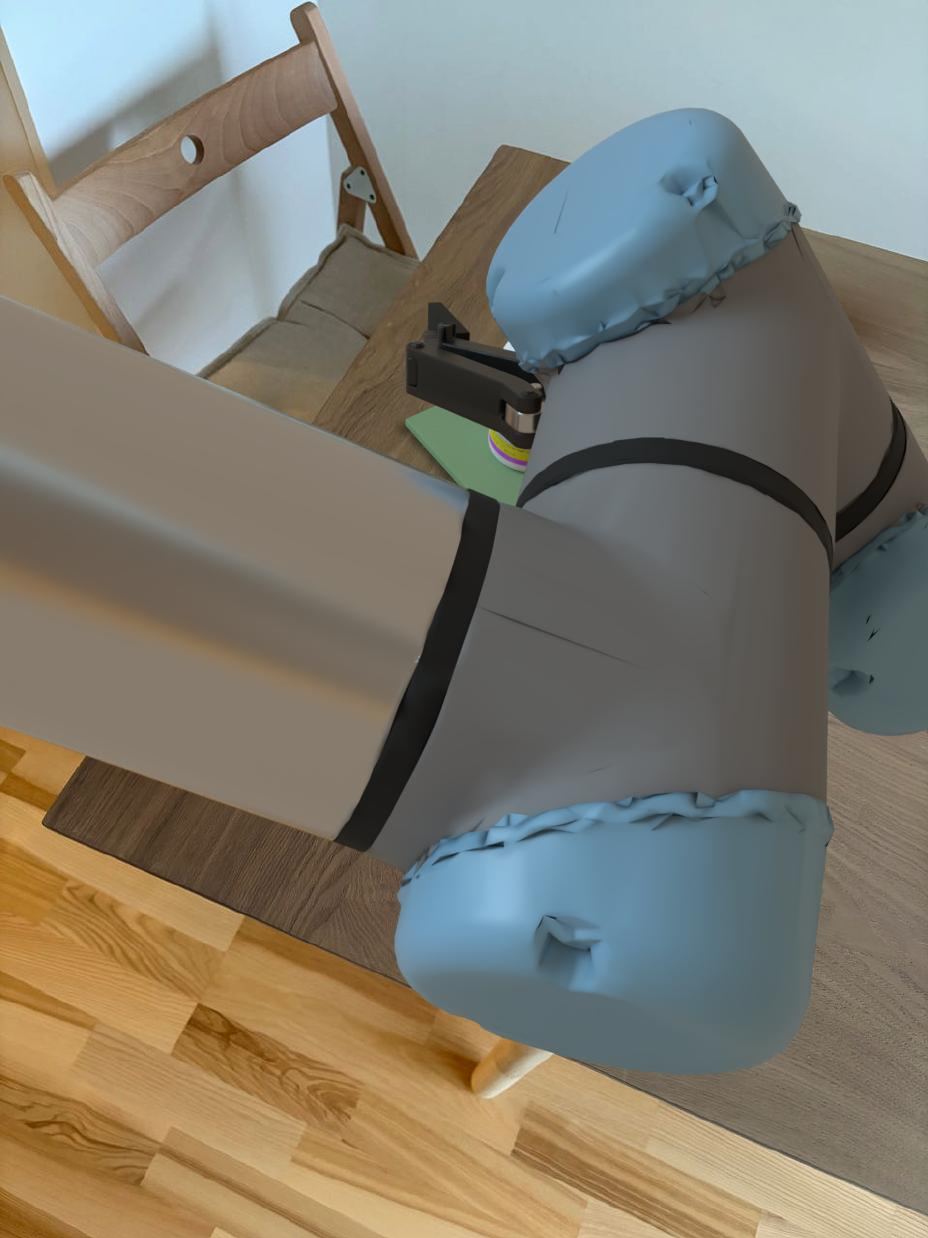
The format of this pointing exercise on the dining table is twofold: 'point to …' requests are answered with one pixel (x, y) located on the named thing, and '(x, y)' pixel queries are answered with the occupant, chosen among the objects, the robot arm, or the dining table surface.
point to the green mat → (465, 453)
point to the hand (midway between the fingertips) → (542, 321)
